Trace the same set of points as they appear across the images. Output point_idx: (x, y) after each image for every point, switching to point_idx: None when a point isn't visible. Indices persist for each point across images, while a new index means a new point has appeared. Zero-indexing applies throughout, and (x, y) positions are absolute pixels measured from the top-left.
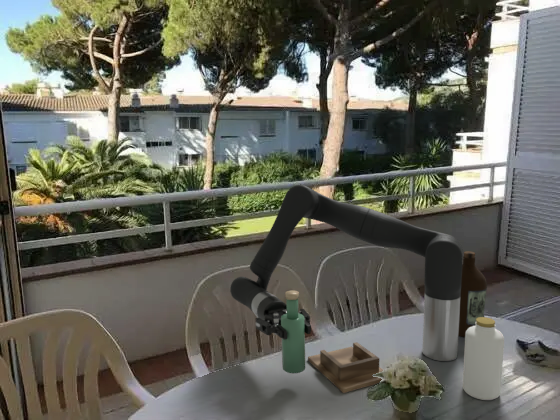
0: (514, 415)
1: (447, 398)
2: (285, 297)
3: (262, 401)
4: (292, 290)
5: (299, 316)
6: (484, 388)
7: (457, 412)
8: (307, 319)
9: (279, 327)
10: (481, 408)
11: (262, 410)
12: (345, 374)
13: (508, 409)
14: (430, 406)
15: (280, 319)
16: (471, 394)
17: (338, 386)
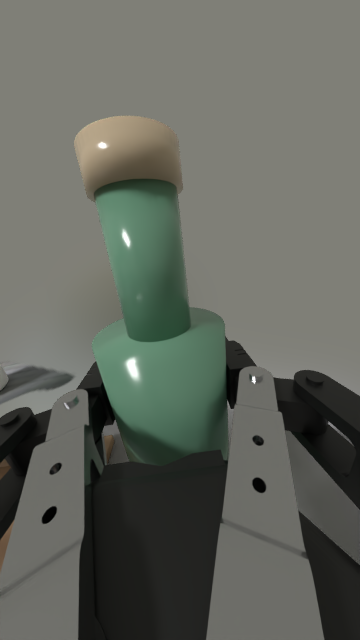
0: (24, 364)
1: (23, 392)
2: (180, 179)
3: (292, 465)
4: (87, 126)
5: (123, 328)
6: (2, 367)
7: (50, 373)
8: (38, 415)
9: (238, 358)
10: (26, 374)
11: (285, 431)
12: None
13: (14, 369)
14: (56, 385)
15: (211, 462)
16: (5, 383)
17: (107, 456)
